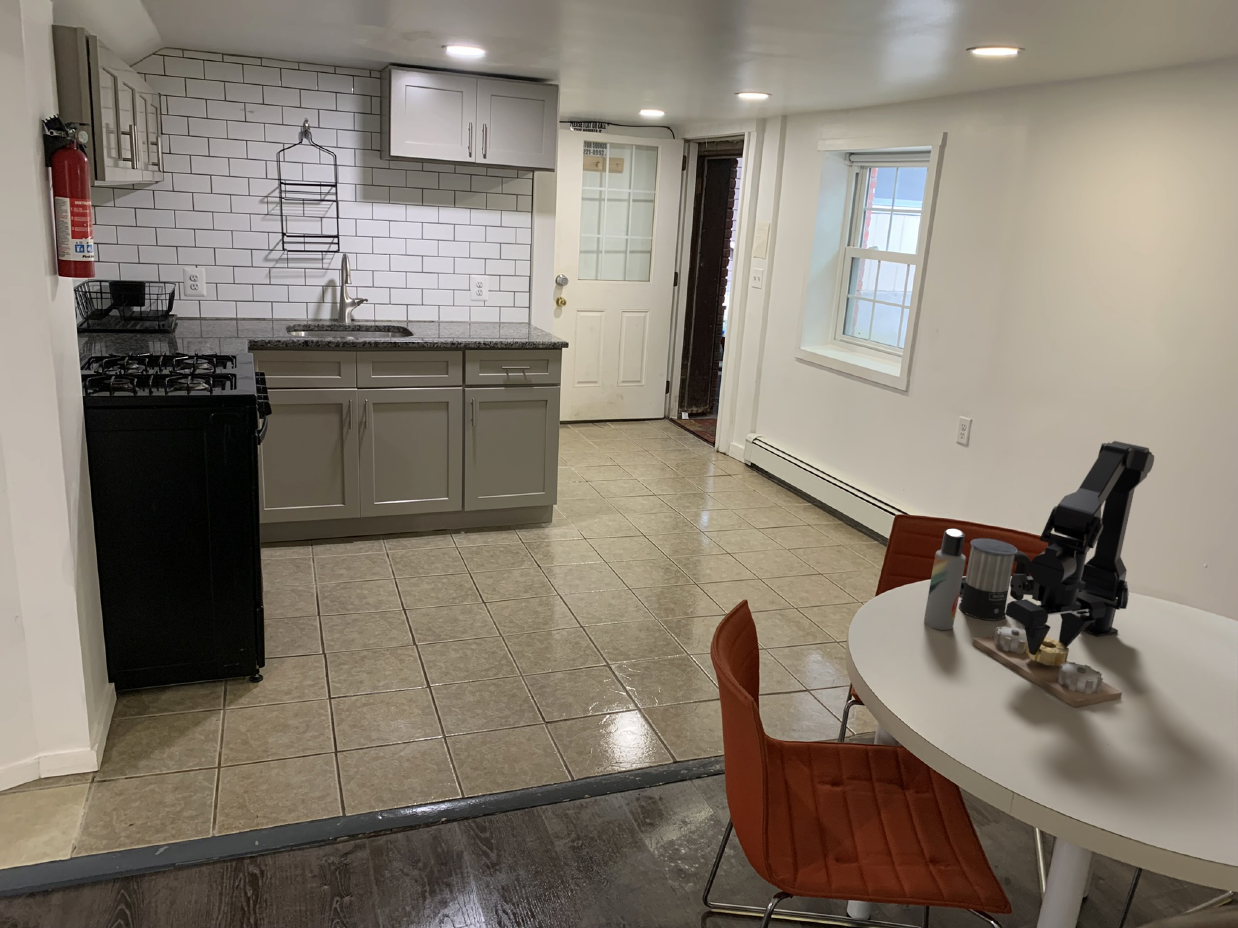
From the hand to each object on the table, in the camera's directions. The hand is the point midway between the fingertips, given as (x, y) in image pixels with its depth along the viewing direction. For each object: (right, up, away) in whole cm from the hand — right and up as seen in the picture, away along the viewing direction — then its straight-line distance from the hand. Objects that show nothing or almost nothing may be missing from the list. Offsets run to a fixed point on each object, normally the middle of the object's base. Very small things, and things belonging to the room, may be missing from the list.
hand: (1046, 651), depth 168 cm
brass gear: (0, -1, 0) cm, 1 cm away
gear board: (0, -4, +1) cm, 4 cm away
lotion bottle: (-14, +2, +17) cm, 22 cm away
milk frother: (-2, +4, +29) cm, 29 cm away
